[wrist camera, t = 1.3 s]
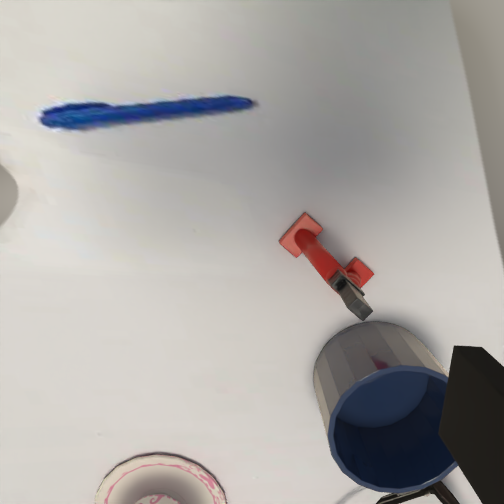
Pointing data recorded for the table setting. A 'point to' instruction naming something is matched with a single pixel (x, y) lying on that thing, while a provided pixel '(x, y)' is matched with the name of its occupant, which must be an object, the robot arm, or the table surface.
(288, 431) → the table surface
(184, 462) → the teacup
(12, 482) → the table surface
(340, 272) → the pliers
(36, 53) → the table surface
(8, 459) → the table surface
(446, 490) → the sunglasses
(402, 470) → the pen cup
